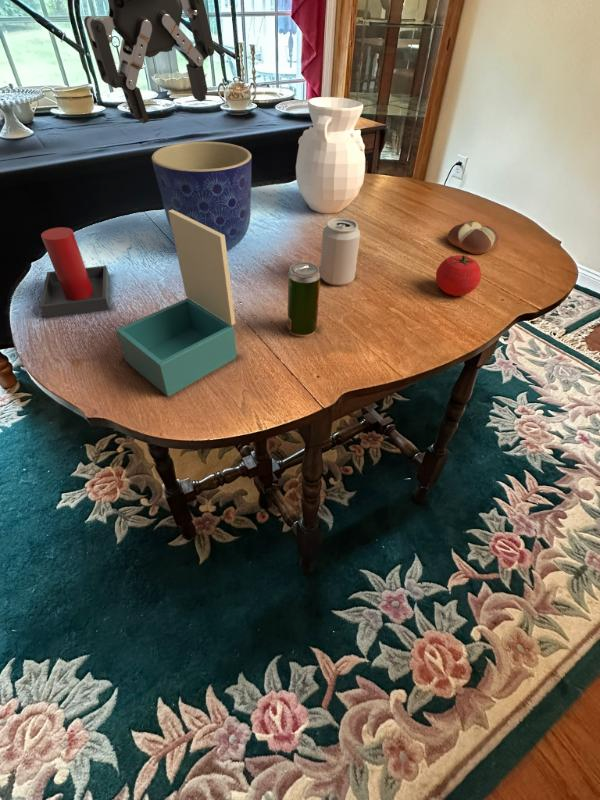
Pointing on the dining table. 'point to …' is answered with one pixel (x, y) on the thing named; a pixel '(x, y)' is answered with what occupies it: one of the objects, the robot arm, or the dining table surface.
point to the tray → (61, 306)
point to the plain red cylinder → (67, 263)
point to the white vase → (331, 155)
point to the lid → (203, 265)
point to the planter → (207, 185)
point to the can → (339, 251)
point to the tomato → (458, 275)
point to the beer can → (303, 298)
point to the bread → (473, 237)
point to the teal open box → (177, 345)
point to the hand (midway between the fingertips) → (172, 110)
